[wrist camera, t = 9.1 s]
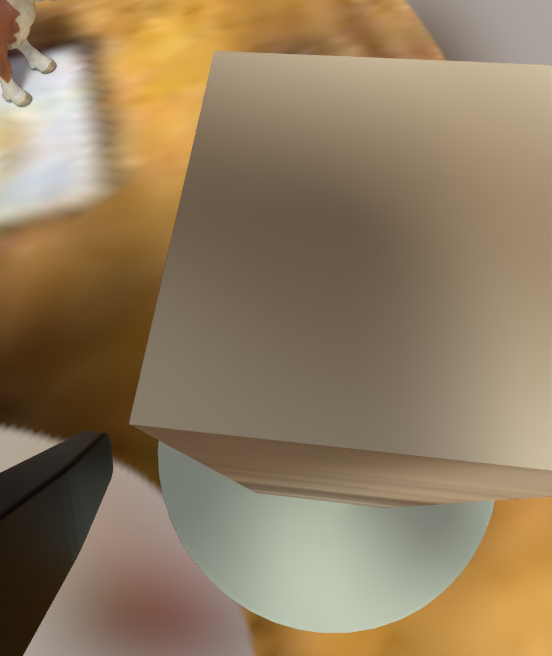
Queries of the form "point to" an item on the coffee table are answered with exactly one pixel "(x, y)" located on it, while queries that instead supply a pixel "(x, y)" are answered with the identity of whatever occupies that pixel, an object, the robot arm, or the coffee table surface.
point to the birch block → (361, 282)
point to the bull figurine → (19, 46)
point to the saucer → (317, 549)
